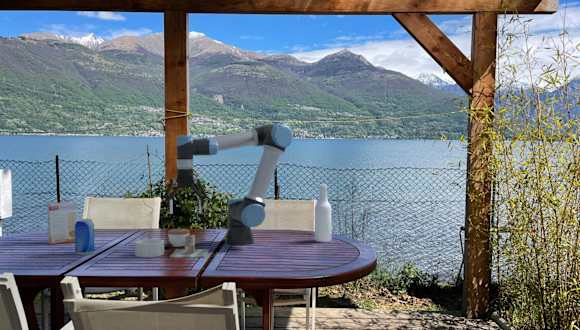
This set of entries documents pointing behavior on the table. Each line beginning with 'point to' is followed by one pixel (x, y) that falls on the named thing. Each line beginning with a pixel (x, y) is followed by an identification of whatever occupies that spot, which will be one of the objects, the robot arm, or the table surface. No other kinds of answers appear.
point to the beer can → (84, 237)
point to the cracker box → (62, 222)
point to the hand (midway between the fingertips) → (185, 213)
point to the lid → (189, 250)
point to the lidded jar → (178, 236)
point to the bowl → (149, 248)
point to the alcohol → (323, 216)
